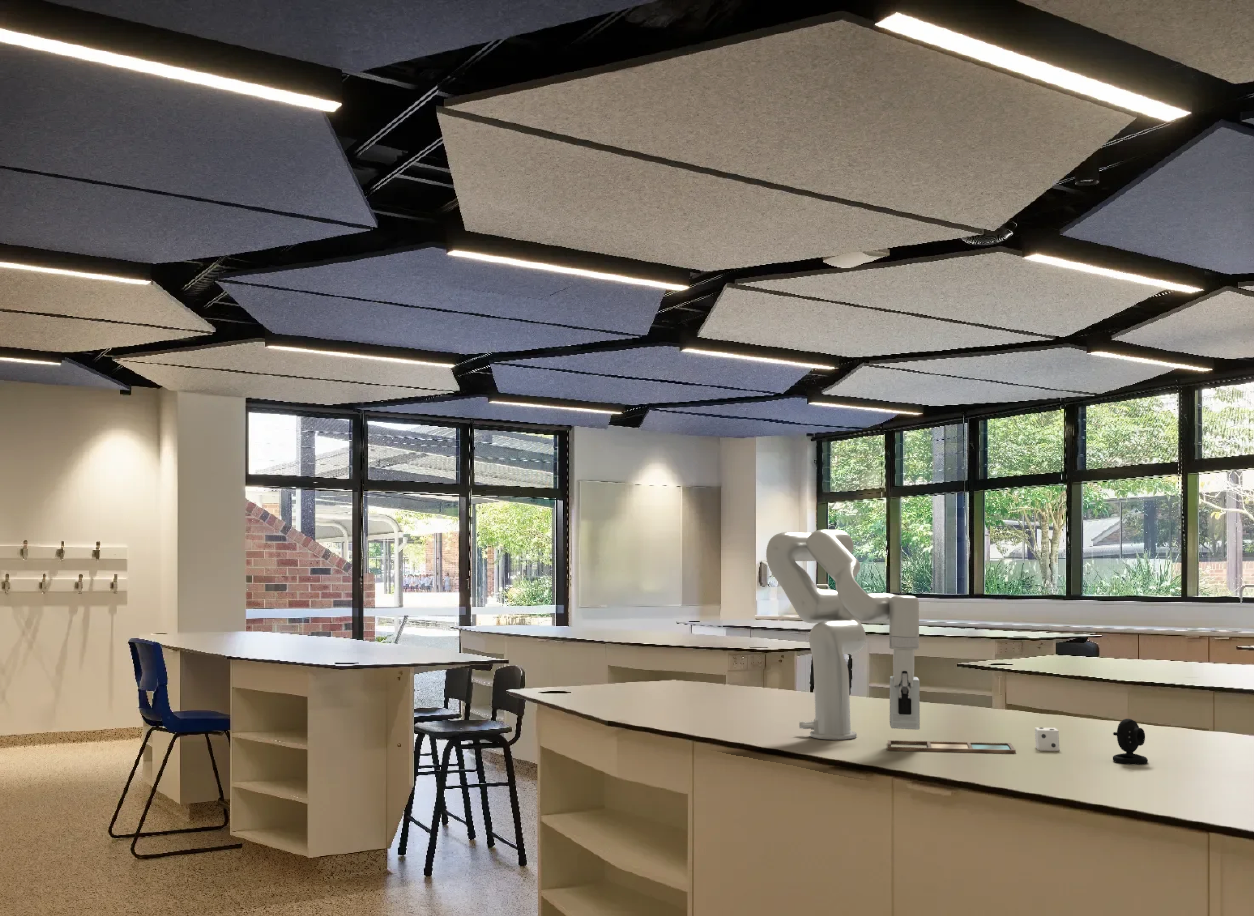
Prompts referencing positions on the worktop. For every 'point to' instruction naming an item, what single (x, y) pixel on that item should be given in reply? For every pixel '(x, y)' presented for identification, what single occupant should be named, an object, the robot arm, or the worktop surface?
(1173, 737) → the worktop surface
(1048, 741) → the die
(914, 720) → the supplement box
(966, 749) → the board
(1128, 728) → the webcam
